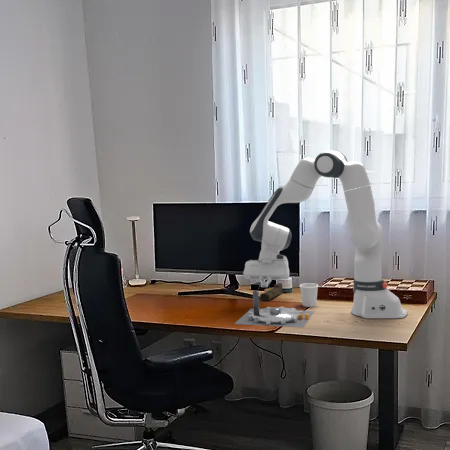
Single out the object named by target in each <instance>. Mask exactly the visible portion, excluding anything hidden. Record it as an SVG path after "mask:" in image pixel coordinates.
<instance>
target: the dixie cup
mask: <svg viewBox="0 0 450 450" xmlns="http://www.w3.org/2000/svg"><path fill="white" fill-rule="evenodd" d="M318 287H319V284H318V283H308V282H307V283H301V284H300V285H299V289H300V295H301V303H302V306H303V307H307V308H308V307H309V308H311V307H312V308H313V307H316V306H317V300H318V289H319V288H318Z"/></svg>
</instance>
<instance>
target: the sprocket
mask: <svg viewBox="0 0 450 450" xmlns="http://www.w3.org/2000/svg"><path fill="white" fill-rule="evenodd" d="M252 305H253V306H252V307H253V308H252V309H253V312H249V313H248V319H249V320H254V322H255V323H259V322H261V323H266V324H271V323H272V324H276V323H280V324H286V323H287V322H297V321H298V319H303V311H304V310H297V308H295V307H285V306H279V307H278V306H276V307H275V306H273V307H271V306H266V308H265V307H264V308H260V293H259V290H257V289H256V290H252Z"/></svg>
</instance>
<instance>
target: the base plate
mask: <svg viewBox="0 0 450 450" xmlns="http://www.w3.org/2000/svg"><path fill="white" fill-rule="evenodd" d="M302 311H303V319H298V321H297V322H287V323H286V324H280V323H276V324H272V323H271V324H266V323H261V322H259V323H255V322H254V320H249V319H248V313H249V312H253V308H250V309H249V310H248V311H247V312H246V313H245V314H243V315H242V316H241V317H240V318H239V319H238V320H237V321H236V322H235V323H234V325H242V326H243V325H246V326H265V327H266V326H267V327H269V326H270V327H285V328H286V327H288V328H305V326H306V325H307V323H308V322H309V320H310V319H311V317H312V315H314V313H315V311H314V310H302Z"/></svg>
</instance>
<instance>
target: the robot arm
mask: <svg viewBox="0 0 450 450" xmlns="http://www.w3.org/2000/svg"><path fill="white" fill-rule="evenodd" d="M321 177H324V178H332V179H333V178H334V179H339V180H340V182H341V185H342V189H343V194H344V199H345V202H346V207H347V213H348V215H347V216H348V225H349V232H350V240H351V242H352V244H353V245H354V246H355V251H354V252H355V254H354V259H353V263H354V264H353V267H354V271H353V273H354V275H353V276H354V278H353V283H352V285H353V286H352V288H353V289H352V291H353V293H354V294H353V302H352V308H351V311H350V313H351V314H352V315H354V316H358V317H362V318H364V319H403V318H406V317H407V315H408V314H407V313H408V311H407V309H405V308H403V307H402V304H401V300H400V298H399V297H398V296H397V295H395V294H394V293H393V292H391V290H389V289H388V283H387V281H386V280H384V279H382V277H383V276H382V275H383V274H382V256H383V245H384V243H383V241H384V239H383V238H384V229H383V226H382V225H381V223H380V222H378V221H377V218H376V216H377V215H376V206H375V201H374V195H373V191H372V188H371V187H372V186H371V182H370V180H369V179H370V178H369V176H368V172H367V171H366V168H365V166H364V164H362V162H359V161H350V162H349V161H348V159H347V157H346V155H344V154H343V153H342V152H340V151H335V150H324V151H321V152H320V153H319V154H318V155H317V156H316V158H315V159H314V158H311V157H305V158H302V159H300V161H299V162H298V163H297V165H296V166H295V168H294V170H293V172H292V173H291V176H290V178H289V180H288V182H286V184H284V185H283V186H280V187H277V189H276V190H275V191H274V192H273V194H272V195H271V196H270V198H269V199H268V201H267V203H266V204H265V205H264V207H263V209H262V210H261V211H260V213H259V214H258V216H257V217H256V219H255V220H254V221H253V222H252V224H251V226H250V229H249V234H250V236H251V238H252V240H253V241H257V242H261V244H260V245H261V250H260V252H259V256H258V259H249V260H247V261H246V262H245V264H244V270H243V273H242V275H243V277H244V278H245V279H246V280H259V282H260V287H261V288H269V285H270V284H271V282H272V280H274V281H276V280H277V281H279V280H280V281H281V280H283V281H287V280H288V279H290V268H289V260H288V258H287V256H286V255H284V254H280V251H284V250H285V249H288V247H290V244H291V241H292V235H293V234H292V232H291V230H290V228H288V227H286V226H284V225H281V224H278V223H275V222H273V221H269V219H270V218H271V216H272V215H273V213H274V212H275V210H277V207H278V206H280V205H282V204H298V203H302V202H304V201H306V200H308V199H309V198H310V197H311V195H312V193H313V191H314V188H315V186H316V184H317V182H318V180H319V179H320V178H321ZM264 280H266V281H264Z"/></svg>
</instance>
